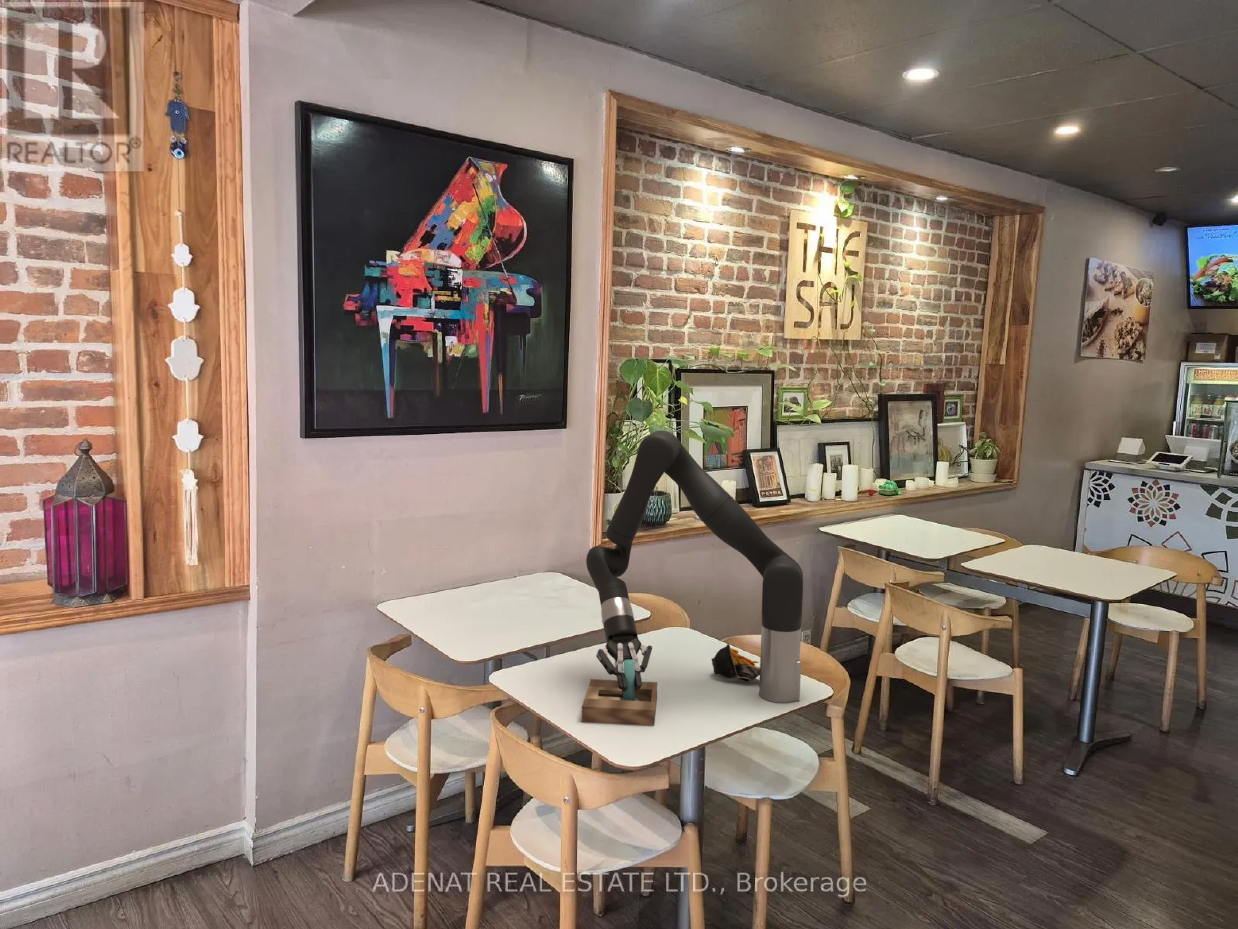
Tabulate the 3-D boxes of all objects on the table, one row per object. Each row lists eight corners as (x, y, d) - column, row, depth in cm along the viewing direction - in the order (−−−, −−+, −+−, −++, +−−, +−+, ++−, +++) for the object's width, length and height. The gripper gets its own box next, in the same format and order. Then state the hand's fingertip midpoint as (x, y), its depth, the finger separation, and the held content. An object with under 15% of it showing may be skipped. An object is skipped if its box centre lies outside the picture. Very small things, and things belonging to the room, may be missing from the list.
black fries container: (708, 650, 214) (775, 631, 212) (720, 693, 211) (789, 674, 209) (705, 648, 205) (775, 629, 203) (718, 693, 202) (789, 673, 200)
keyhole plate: (657, 696, 195) (657, 682, 195) (654, 725, 180) (654, 710, 179) (590, 693, 197) (590, 679, 196) (581, 721, 181) (581, 706, 180)
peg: (640, 703, 190) (641, 658, 189) (638, 712, 185) (639, 666, 184) (618, 702, 191) (619, 657, 189) (616, 711, 186) (617, 664, 184)
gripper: (592, 615, 191) (604, 685, 181) (649, 611, 195) (664, 680, 184) (587, 630, 197) (598, 699, 186) (643, 626, 200) (657, 693, 190)
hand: (631, 689), depth 185 cm, fingers closed on peg, 2 cm apart
